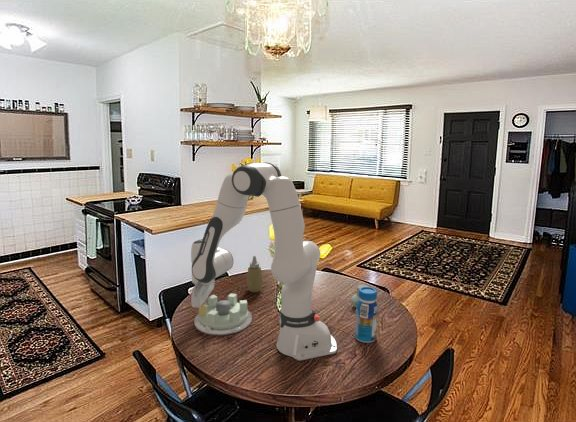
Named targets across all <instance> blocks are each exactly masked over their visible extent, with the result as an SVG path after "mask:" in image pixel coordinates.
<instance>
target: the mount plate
mask: <svg viewBox="0 0 576 422" xmlns="http://www.w3.org/2000/svg"><path fill="white" fill-rule="evenodd" d="M252 321H253V316H252V313H251V312H250V310H248V318H247V320H246V321H245V322H244V323H243V324H241V325H239V326H237V327H234V328H230V329H223V330H216V329H212V326H208V325H207V326H206V327H204V326H202V325H201V324H200V323H199V320H198V314H196V315H195V318H194V322H193V323H194V327H195V329H196V330H198V331H199V332H200V333H203V334H206V335H211V336H227V335H233V334H236V333H239V332H242V331H243V330H246V329H247V328H248V327H249V326H250V325H251V324H252Z"/></svg>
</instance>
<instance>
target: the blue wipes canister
mask: <svg viewBox="0 0 576 422" xmlns="http://www.w3.org/2000/svg"><path fill="white" fill-rule="evenodd" d="M377 297H378V291H377V289H375V288H374V287H372V286H371V287H370V286H369V287H362V288H360V289H359V298H360V299H359V300H358V302H357V304H356V307H357V308H356V309H355V326H354V338H355V339H356V340H357V341H358V342H361V343H365V344H366V343H367V344H371V343H373V342H375V341H376V338H377V326H378V325H377V324H378V317H379V312H378V310H379V305H378V303H377V301H376V300H377V299H378V298H377Z"/></svg>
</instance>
